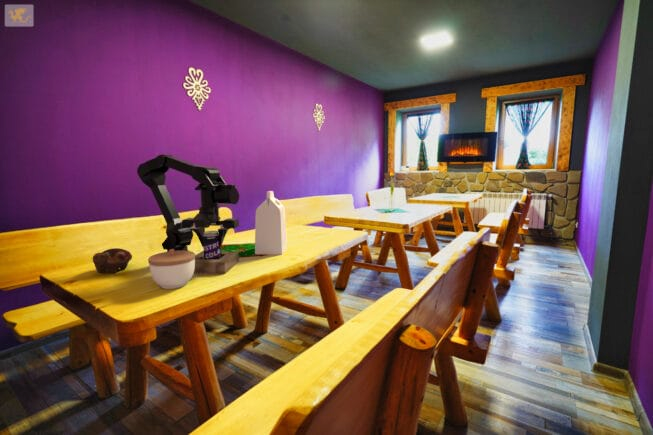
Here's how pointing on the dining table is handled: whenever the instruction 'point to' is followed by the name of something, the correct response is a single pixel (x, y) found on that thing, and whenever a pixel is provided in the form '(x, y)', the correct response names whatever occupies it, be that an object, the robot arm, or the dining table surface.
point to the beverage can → (211, 245)
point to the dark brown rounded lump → (111, 260)
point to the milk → (270, 227)
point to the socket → (216, 263)
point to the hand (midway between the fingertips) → (211, 246)
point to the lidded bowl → (172, 268)
